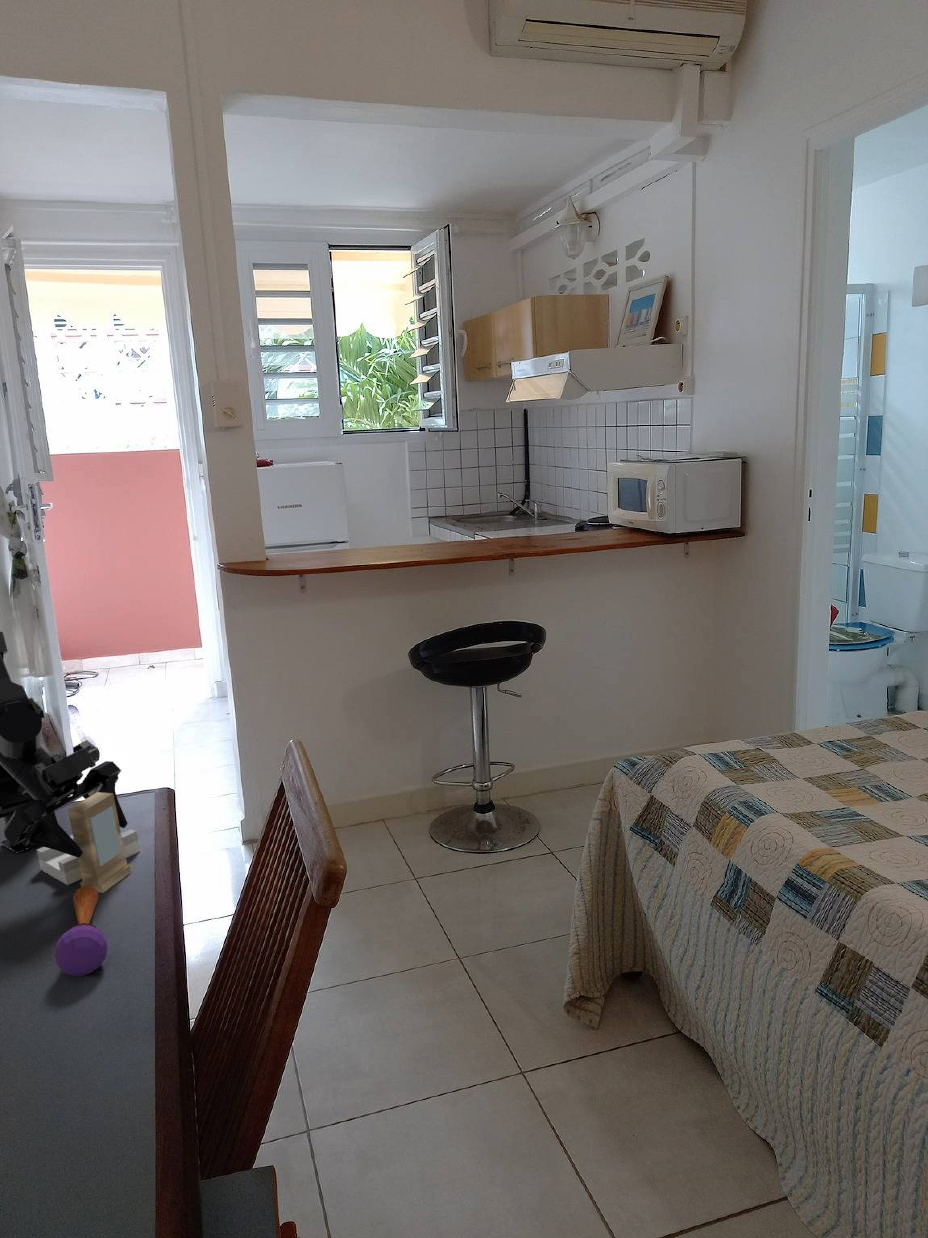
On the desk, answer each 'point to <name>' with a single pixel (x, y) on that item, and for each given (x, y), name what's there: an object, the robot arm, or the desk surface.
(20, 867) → the desk surface
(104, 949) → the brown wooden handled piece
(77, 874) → the ledge
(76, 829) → the beige block with panel
